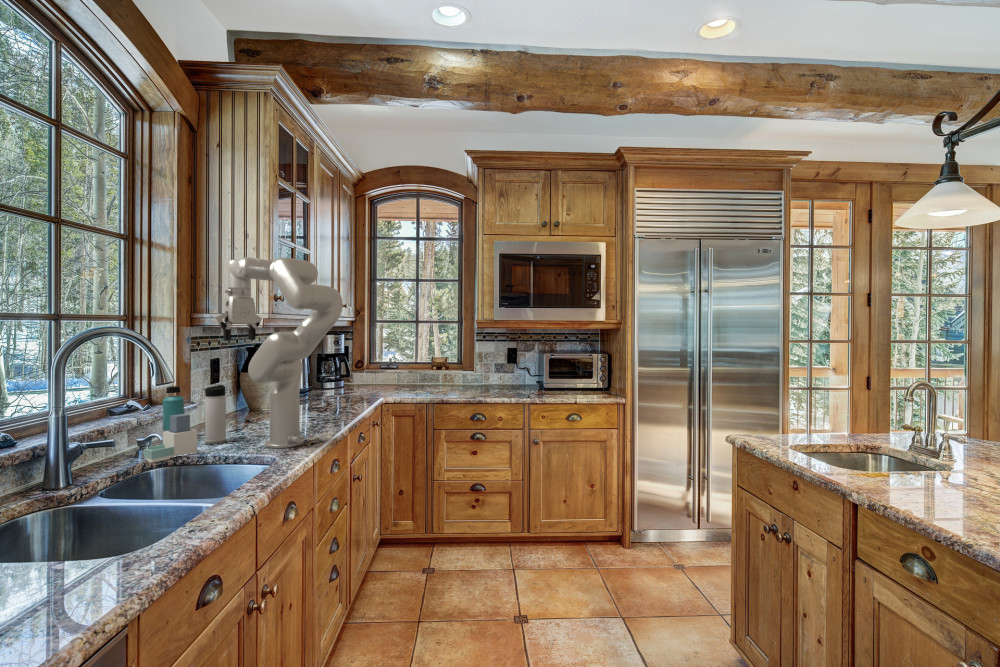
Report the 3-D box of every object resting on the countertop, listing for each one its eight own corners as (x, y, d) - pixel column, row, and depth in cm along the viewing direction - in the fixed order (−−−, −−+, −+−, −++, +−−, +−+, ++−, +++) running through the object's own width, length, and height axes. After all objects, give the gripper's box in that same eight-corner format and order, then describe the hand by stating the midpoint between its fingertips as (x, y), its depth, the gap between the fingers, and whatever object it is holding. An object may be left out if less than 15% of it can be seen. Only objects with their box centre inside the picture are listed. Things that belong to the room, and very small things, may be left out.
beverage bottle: (182, 444, 168) (182, 387, 167) (160, 446, 165) (159, 387, 165) (187, 440, 174) (186, 385, 173) (165, 442, 171) (164, 385, 171)
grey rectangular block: (190, 439, 155) (189, 414, 155) (176, 442, 152) (176, 416, 152) (183, 438, 157) (183, 413, 157) (170, 440, 154) (170, 415, 154)
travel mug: (230, 440, 173) (230, 385, 173) (218, 445, 166) (217, 387, 166) (214, 440, 174) (213, 384, 173) (201, 444, 167) (200, 387, 167)
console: (197, 453, 156) (197, 430, 156) (151, 462, 145) (151, 437, 145) (186, 450, 159) (186, 427, 159) (141, 459, 148) (140, 435, 148)
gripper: (223, 291, 168) (223, 340, 168) (267, 294, 184) (267, 339, 184) (210, 292, 172) (210, 340, 172) (254, 295, 187) (254, 339, 187)
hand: (240, 340), depth 178 cm, fingers open, 9 cm apart
